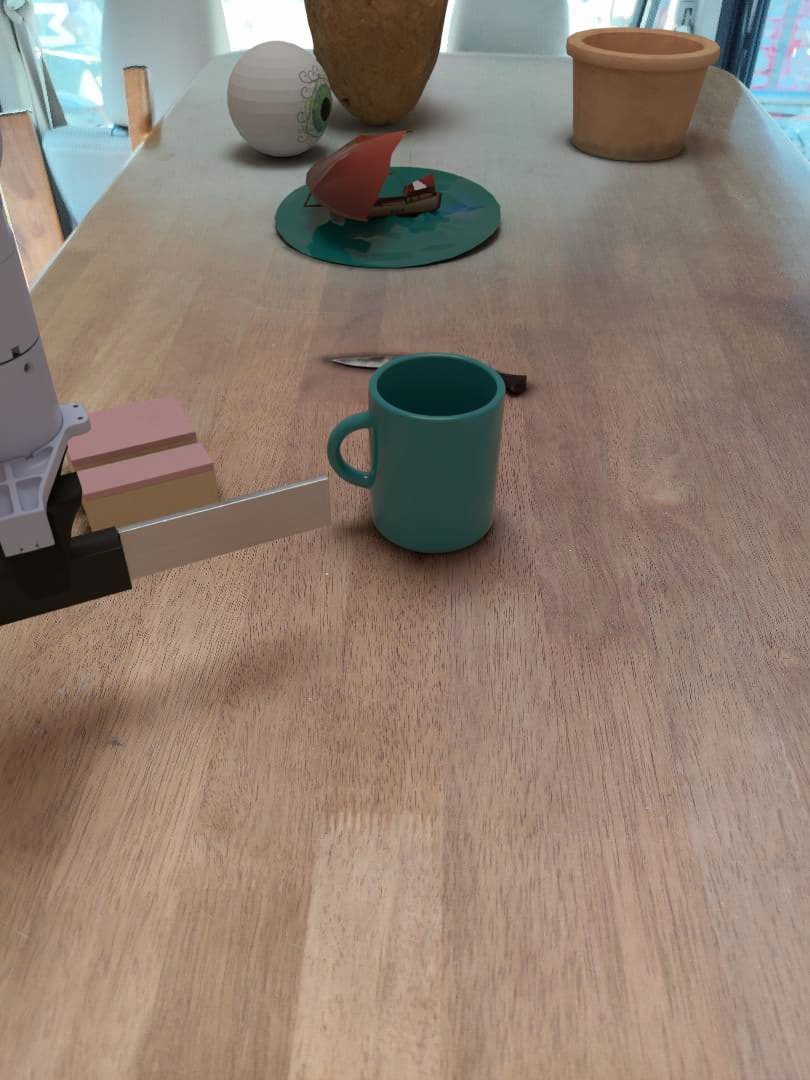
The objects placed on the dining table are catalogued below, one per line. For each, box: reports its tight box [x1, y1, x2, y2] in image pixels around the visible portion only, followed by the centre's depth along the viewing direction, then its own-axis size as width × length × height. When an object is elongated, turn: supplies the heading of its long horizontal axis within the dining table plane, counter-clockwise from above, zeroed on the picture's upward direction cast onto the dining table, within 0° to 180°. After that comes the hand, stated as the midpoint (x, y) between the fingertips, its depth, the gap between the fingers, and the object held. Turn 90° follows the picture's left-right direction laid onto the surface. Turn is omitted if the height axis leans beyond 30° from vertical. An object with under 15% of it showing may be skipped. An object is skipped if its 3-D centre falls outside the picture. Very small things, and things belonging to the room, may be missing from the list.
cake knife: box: [0, 474, 332, 627], centre depth 50 cm, size 20×2×3 cm, turn 116°
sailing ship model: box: [274, 129, 502, 269], centre depth 109 cm, size 28×28×11 cm
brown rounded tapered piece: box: [303, 0, 449, 126], centre depth 139 cm, size 22×22×25 cm
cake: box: [65, 394, 198, 512], centre depth 69 cm, size 9×6×5 cm, turn 116°
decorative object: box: [226, 40, 333, 158], centre depth 129 cm, size 15×15×15 cm
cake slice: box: [77, 441, 220, 532], centre depth 64 cm, size 9×3×5 cm, turn 116°
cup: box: [326, 351, 507, 554], centre depth 63 cm, size 9×12×11 cm
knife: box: [331, 355, 528, 394], centre depth 83 cm, size 18×1×5 cm
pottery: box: [565, 26, 721, 162], centre depth 135 cm, size 22×22×14 cm
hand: (46, 577), depth 48 cm, fingers closed on cake knife, 2 cm apart
